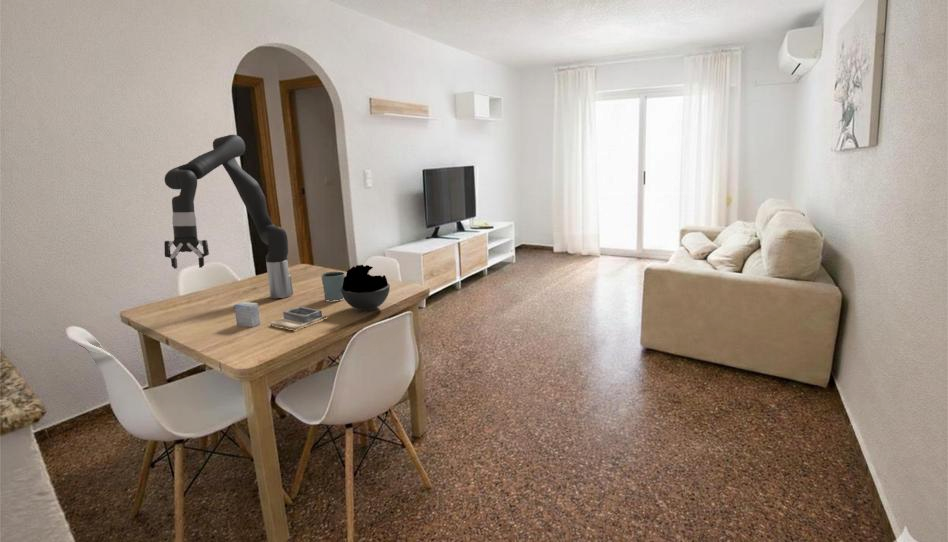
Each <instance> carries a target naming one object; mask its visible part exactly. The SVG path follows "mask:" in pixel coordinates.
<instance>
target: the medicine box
mask: <svg viewBox="0 0 948 542" xmlns="http://www.w3.org/2000/svg"><path fill="white" fill-rule="evenodd" d="M233 306H234V313H235V314H234V316H235V320H236V326H237V325H240V327H247V326H249V327H248V328H254V326H255V327H257V326H258V324H259V325H260V323H261V317H260V311H259V310H260V309H259V303H258V302H249V301H240V302H238V303H235V304H234V305H233ZM261 324H262V323H261ZM256 325H257V326H256Z"/></svg>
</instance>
